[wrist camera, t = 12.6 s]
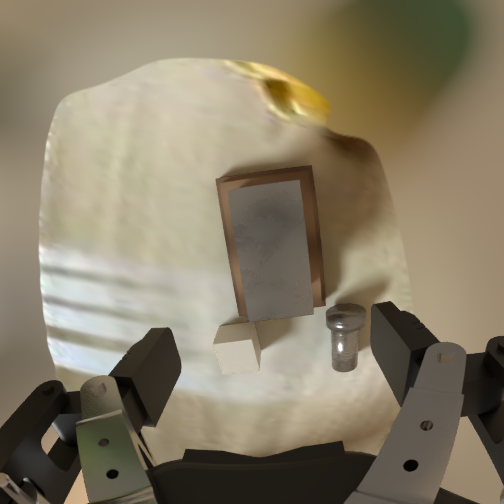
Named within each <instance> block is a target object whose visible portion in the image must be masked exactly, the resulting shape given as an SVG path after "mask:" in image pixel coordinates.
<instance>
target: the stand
mask: <svg viewBox="0 0 504 504" xmlns="http://www.w3.org/2000/svg"><path fill="white" fill-rule="evenodd" d="M294 180H300V187H301V195H302V202H303V210H304V218H305V227H306V236H307V245H308V254H309V264H310V275H311V286H312V298H313V308H314V307H321V306H326V302H325V287H324V273H323V261H322V250H321V239H320V229H319V220H318V211H317V203H316V195H315V187H314V180H313V173H312V166H311V165H310V166H301V167H292V168H284V169H276V170H269V171H262V172H255V173H248V174H242V175H235V176H229V177H223V178H218V179H216V185H217V191H218V198H219V204H220V210H221V216H222V222H223V228H224V234H225V240H226V246H227V252H228V258H229V263H230V269H231V275H232V280H233V286H234V291H235V297H236V302H237V308H238V313H239V316H246V315H248V314H247V308H246V302H245V297H244V291H243V285H242V279H241V273H240V267H239V261H238V255H237V249H236V243H235V237H234V231H233V224H232V218H231V212H230V206H229V199H228V193H227V190H230V189H236V188H243V187H249V186H256V185H263V184H270V183H278V182H286V181H294Z"/></svg>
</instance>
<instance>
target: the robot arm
mask: <svg viewBox="0 0 504 504" xmlns="http://www.w3.org/2000/svg"><path fill="white" fill-rule="evenodd" d="M370 343H371V349H372V353H373V355H374V357H375V359H376V361H377V363H378V364H379V366H380V368H381V370H382V372H383V374H384V376H385V378H386V380H387V382H388V383H389V385H390V387H391V389H392V391H393V393H394V395H395V397H396V399H397V401H398V403H399V405H400V407H402V408H401V410H400V412H399V414H398V416H397V419H396V421H395V423H394V425H393V427H392V429H391V431H390V433H389V435H388V437H387V439H386V441H385V443H384V444H383V446H382V448H381V450H380V452H379V454H378V455H377V456H375V455H372V454H368V453H363V452H355V451H344V446H343V442H342V441H338V442H332V443H326V444H319V445H312V446H304V447H300V448H297V449H293V450H290V451H286V452H283V453H279V454H275V455H271V456H267V457H261V458H259V457H252V456H246V455H241V454H236V453H231V452H226V451H217V450H195V449H186V450H185V453H184V456H183V459H179V460H174V461H169V462H166V463H162V464H160V465H157V463H156V461H155V459H154V457H153V455H152V453H151V451H150V448H149V446H148V444H147V442H146V440H145V437H144V435H143V433H142V432H141V429H142V427H143V426H147V427H156V425H157V423H158V420H159V418H160V416H161V414H162V412H163V410H164V408H165V405H166V403H167V401H168V399H169V397H170V395H171V393H172V390H173V388H174V386H175V384H176V382H177V380H178V378H179V376H180V373H181V359H180V356H179V353H178V350H177V346H176V343H175V340H174V336H173V333H172V331H171V329H170V328H168V327H167V328H151V329H150V330H149V332H148V333H147V334H146V335H145V337H144V338H143V339H142V340H140V341H139V342H137V343H136V344H134V345H133V346H132V347H131V348H130V349H129V350H128V351H127V354H125V355H124V356H123V358H122V360H120V361H119V363H118V364H117V365H116V366H115V367H114V369H113V370H112V371H111V372H110V374H109V375H108V376H106V375H102V376H97V377H94V378H91V379H89V380H88V381H86V382H85V383H84V384H83V385H82V386H81V388H80V391H73V392H67V391H66V389H65V388H64V386H63V384H62V382H60V381H57V380H51V381H47V382H44V383H43V384H41V385H39V386H38V387H37V388H36V389H35V390H34V391H33V392H32V393H31V394H30V395H29V396H28V398H27V399H26V400H25V401H24V402H23V403H22V404H21V405H20V406H19V407H18V409H17V410H16V411H15V412H14V413H13V414H12V415H11V417H10V418H9V419H8V420H7V421H6V422H5V423H4V425H3V426H2V427H1V428H0V504H64V502H65V500H66V497H67V496H68V494H69V492H70V490H71V488H72V486H73V484H74V482H75V480H76V478H77V476H78V474H79V472H80V470H81V469H82V473H83V478H84V483H85V487H86V492H87V496H88V500H89V503H88V504H479V503H476V502H474V501H471V500H469V499H466V498H464V497H461V496H459V495H457V494H454V493H452V492H450V491H447V490H445V489H443V488H441V487H440V485H441V482H442V479H443V476H444V474H445V471H446V467H447V465H448V462H449V458H450V455H451V452H452V448H453V445H454V441H455V437H456V433H457V429H458V425H459V420H460V417H464V416H468V418H469V419H470V421H471V423H472V425H473V426H474V428H475V430H476V432H477V433H478V435H479V437H480V439H481V441H482V443H483V445H484V446H485V448H486V450H487V452H488V454H489V456H490V458H491V460H492V462H493V464H494V466H495V468H496V470H497V472H498V474H499V476H500V478H501V480H502V483H503V485H504V336H497V337H494V338H492V339H490V340H489V341H488V343H487V347H486V351H485V352H483V353H476V354H466V352H465V350H464V349H463V348H462V347H461V346H459V345H458V344H455V343H450V342H440V341H439V340H438V339H437V338H436V337H435V336H434V335H433V334H432V333H431V332H430V331H429V330H428V329H427V328H425V326H424V324H423V323H420V320H419V319H418V318H417V317H416V316H415V315H413V314H411V313H409V312H407V311H400V310H399V309H398V308H397V307H396V306H395V305H394V304H393V303H392V302H391V301H388V302H383V303H377V304H373V305H372V308H371V336H370ZM51 425H52V427H53V428H54V430H55V431H56V433H57V434H58V435H59V438H58V439H57V441H56V442H55V444H54V445H53V447H52V448H51V450H50V451H49V453H48V454H46V453H45V452H44V450H43V449H42V446H41V439H42V437H43V435H44V434H45V433H46V431H47V430H48V428H49V427H50V426H51ZM500 502H501V503H500V504H504V487H503V489H502V491H501V495H500Z"/></svg>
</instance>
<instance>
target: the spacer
mask: <svg viewBox="0 0 504 504" xmlns="http://www.w3.org/2000/svg"><path fill="white" fill-rule="evenodd" d="M213 347H214V350H215V353H216V356H217V359H218V362H219V365H220V368H221V371H222V373H223V374H234V373H243V372H251V371H259V370H260V359H261V348H260V344H259V340H258V335H257V331H256V327H255V323H254V321H253V322H245V323H238V324H231V325H224V326H219V328H218V331H217V334H216V337H215V339H214V342H213Z"/></svg>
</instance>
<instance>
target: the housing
mask: <svg viewBox="0 0 504 504" xmlns="http://www.w3.org/2000/svg"><path fill="white" fill-rule="evenodd" d="M227 193H228V199H229V206H230V212H231V218H232V224H233V231H234V237H235V243H236V249H237V255H238V261H239V267H240V273H241V279H242V285H243V291H244V297H245V302H246V308H247V314H248V320H249V322H253V321H263V320H272V319H281V318H289V317H297V316H305V315H312V314H314V309H313V298H312V286H311V275H310V264H309V254H308V245H307V236H306V227H305V218H304V210H303V202H302V195H301V187H300V180H294V181H286V182H278V183H270V184H263V185H256V186H249V187H243V188H236V189H230V190H227Z"/></svg>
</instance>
